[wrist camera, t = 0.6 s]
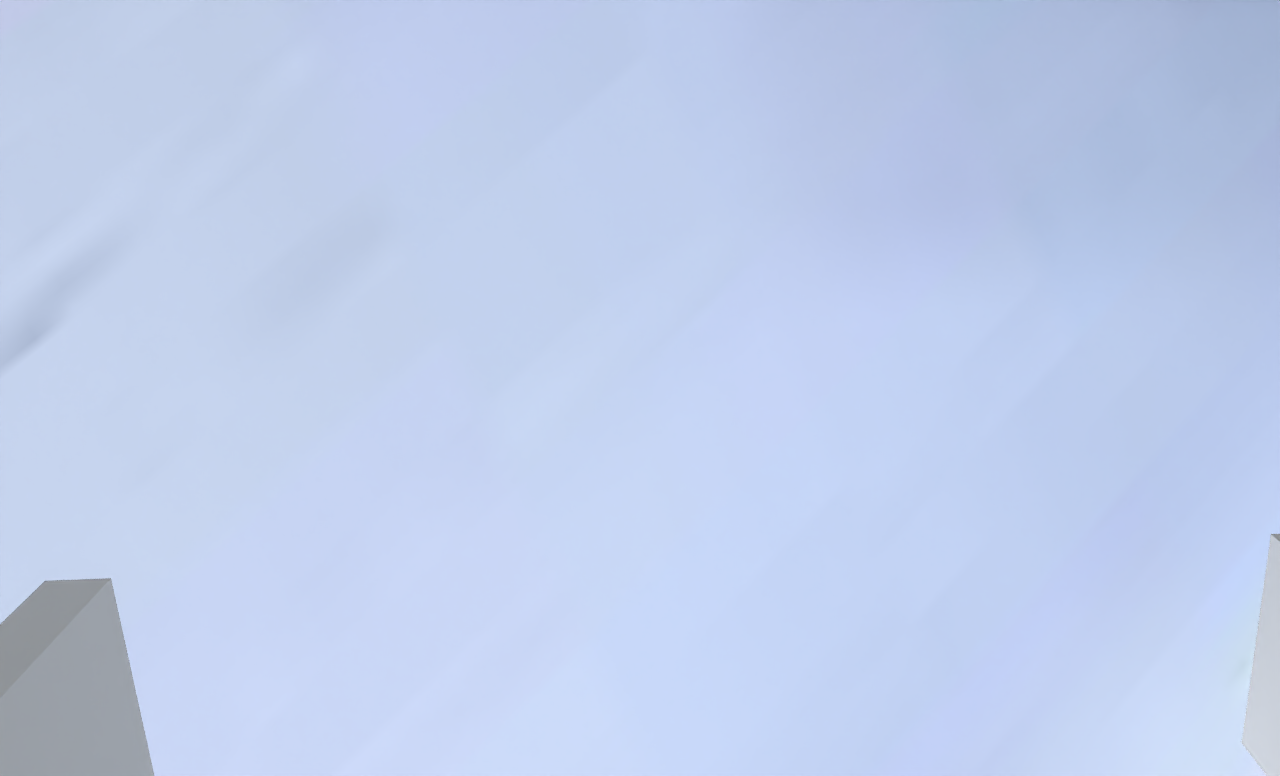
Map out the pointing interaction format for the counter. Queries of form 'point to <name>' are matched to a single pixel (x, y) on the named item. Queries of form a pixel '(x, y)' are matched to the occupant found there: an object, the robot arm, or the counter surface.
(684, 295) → the counter surface
